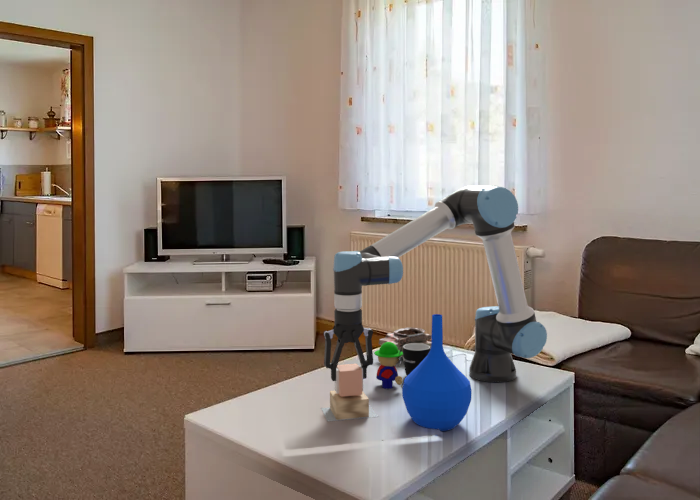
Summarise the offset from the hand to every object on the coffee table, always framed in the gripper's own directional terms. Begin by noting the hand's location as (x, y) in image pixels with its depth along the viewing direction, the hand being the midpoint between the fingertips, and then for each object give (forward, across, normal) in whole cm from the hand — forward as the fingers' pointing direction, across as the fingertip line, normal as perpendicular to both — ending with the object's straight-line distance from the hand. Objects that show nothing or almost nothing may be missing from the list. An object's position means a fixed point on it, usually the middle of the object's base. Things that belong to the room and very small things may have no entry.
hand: (348, 390), depth 179 cm
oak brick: (+6, 0, 0) cm, 6 cm away
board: (+7, 0, 0) cm, 7 cm away
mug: (+8, -30, -28) cm, 42 cm away
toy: (+8, -17, -19) cm, 27 cm away
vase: (+8, -21, +11) cm, 25 cm away
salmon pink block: (0, 0, 0) cm, 0 cm away
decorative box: (+8, -33, -50) cm, 61 cm away
